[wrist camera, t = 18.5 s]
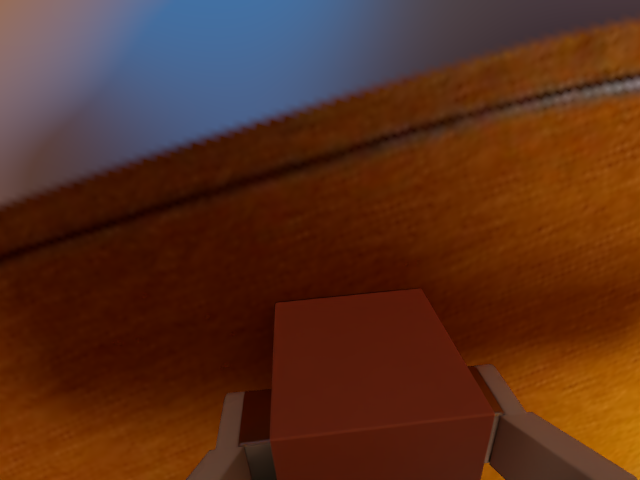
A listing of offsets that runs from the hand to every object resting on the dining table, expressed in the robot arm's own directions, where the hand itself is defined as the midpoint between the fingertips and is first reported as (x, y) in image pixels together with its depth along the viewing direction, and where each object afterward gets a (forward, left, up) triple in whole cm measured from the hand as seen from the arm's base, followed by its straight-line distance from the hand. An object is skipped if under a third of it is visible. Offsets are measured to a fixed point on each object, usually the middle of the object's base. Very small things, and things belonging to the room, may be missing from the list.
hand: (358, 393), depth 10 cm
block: (0, 0, -2) cm, 2 cm away
